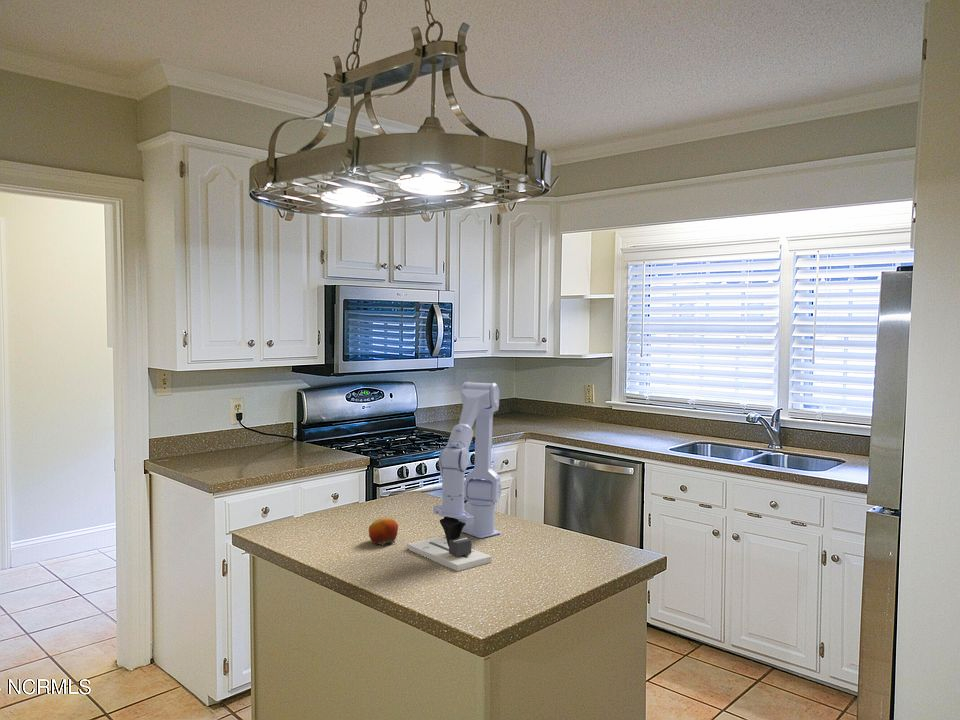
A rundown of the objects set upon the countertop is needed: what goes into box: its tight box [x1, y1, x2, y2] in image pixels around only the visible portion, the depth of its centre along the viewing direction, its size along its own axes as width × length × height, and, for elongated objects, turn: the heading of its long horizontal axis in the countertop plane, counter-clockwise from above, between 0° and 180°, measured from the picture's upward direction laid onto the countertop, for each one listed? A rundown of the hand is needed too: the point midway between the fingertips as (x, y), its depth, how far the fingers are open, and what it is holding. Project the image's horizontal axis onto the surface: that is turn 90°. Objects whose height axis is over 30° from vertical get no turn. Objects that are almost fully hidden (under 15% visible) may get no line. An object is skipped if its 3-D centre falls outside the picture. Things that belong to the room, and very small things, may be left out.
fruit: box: [368, 517, 399, 546], centre depth 201 cm, size 8×8×8 cm
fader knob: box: [449, 536, 472, 557], centre depth 186 cm, size 4×4×4 cm
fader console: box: [406, 536, 493, 572], centre depth 190 cm, size 22×11×2 cm, turn 40°
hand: (452, 546), depth 189 cm, fingers closed
